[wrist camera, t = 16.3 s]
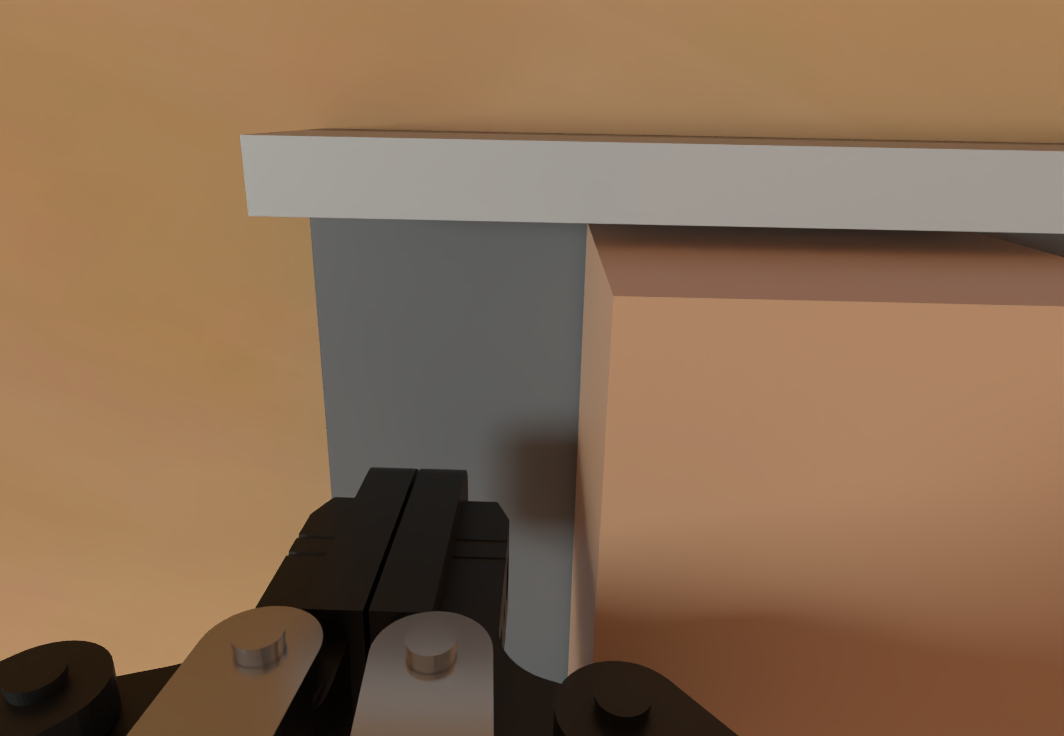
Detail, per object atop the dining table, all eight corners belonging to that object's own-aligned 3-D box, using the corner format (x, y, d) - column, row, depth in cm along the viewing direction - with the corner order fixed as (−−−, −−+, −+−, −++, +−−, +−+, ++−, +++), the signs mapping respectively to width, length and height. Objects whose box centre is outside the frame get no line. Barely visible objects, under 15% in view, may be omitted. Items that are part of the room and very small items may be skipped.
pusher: (967, 229, 12) (1253, 310, 7) (867, 703, 15) (1018, 982, 10) (587, 222, 12) (613, 295, 7) (566, 694, 15) (575, 967, 10)
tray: (1523, 152, 12) (1959, 171, 8) (1272, 722, 16) (1492, 908, 12) (321, 128, 12) (223, 136, 9) (361, 695, 16) (306, 868, 13)
